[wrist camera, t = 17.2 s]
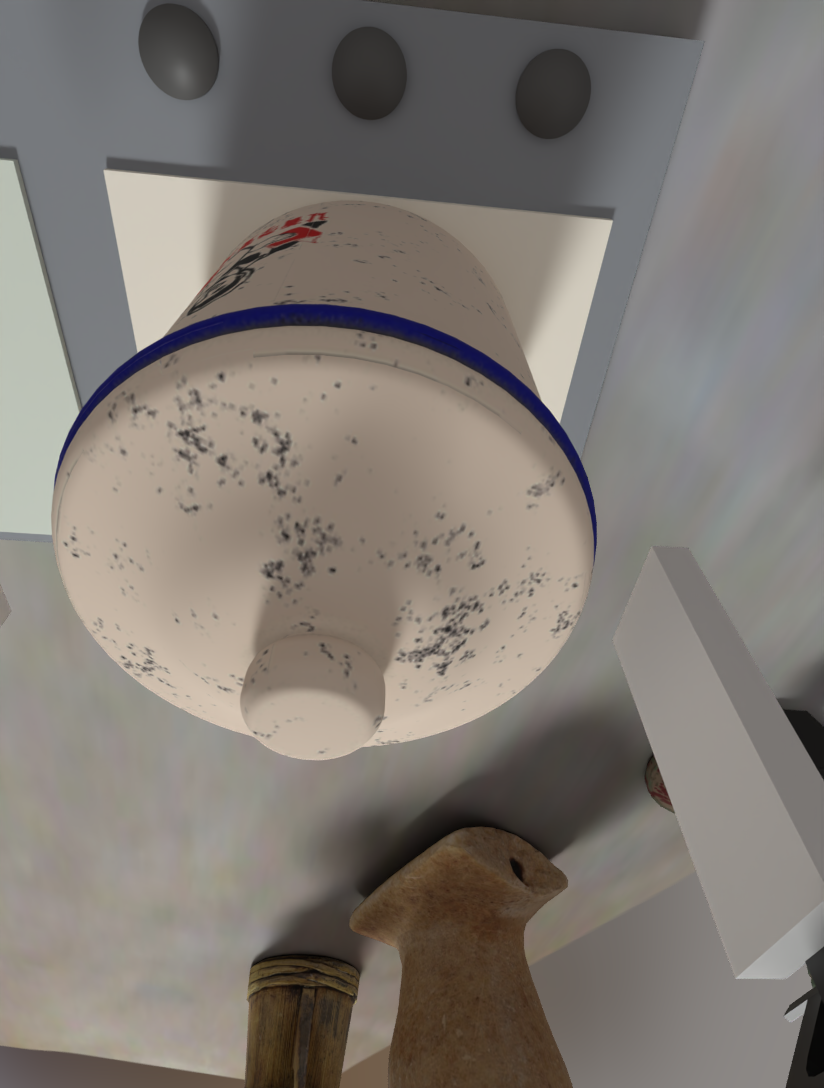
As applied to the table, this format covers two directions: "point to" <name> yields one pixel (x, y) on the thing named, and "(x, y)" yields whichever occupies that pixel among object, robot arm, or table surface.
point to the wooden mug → (298, 1021)
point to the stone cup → (467, 964)
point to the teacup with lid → (329, 493)
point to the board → (307, 176)
